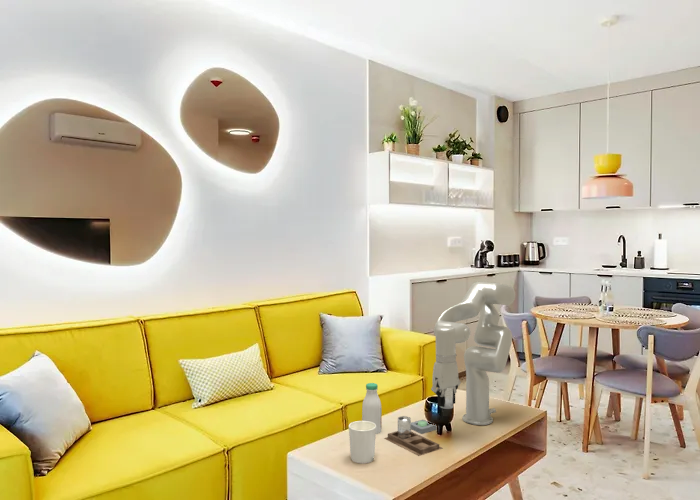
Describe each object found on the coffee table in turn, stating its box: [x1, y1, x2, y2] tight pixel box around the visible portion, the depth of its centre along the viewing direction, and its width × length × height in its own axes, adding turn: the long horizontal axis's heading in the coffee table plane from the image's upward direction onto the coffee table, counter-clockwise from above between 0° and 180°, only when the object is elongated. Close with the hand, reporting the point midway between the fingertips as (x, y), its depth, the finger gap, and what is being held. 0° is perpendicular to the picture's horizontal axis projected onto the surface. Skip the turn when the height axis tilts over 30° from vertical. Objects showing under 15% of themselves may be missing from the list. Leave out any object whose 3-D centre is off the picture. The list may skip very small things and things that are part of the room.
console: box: [411, 419, 438, 435], centre depth 219 cm, size 8×8×3 cm
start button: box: [417, 420, 427, 427], centre depth 219 cm, size 4×4×4 cm
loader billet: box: [397, 415, 412, 440], centre depth 208 cm, size 5×5×9 cm
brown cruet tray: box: [383, 430, 444, 457], centre depth 204 cm, size 12×20×3 cm, turn 35°
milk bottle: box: [361, 382, 383, 435], centre depth 216 cm, size 8×8×20 cm
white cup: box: [348, 420, 377, 464], centre depth 193 cm, size 10×10×12 cm
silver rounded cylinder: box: [439, 387, 454, 410], centre depth 209 cm, size 5×5×9 cm
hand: (446, 403), depth 210 cm, fingers closed on silver rounded cylinder, 5 cm apart
